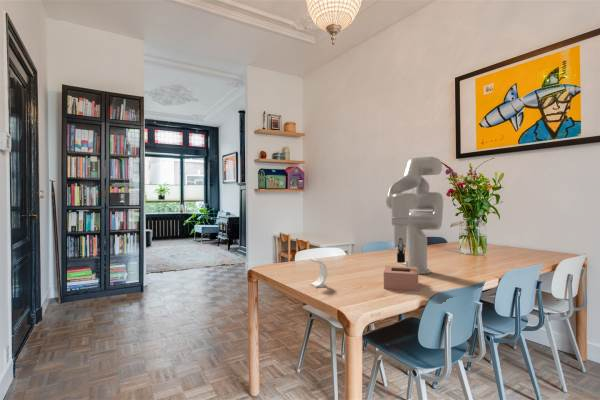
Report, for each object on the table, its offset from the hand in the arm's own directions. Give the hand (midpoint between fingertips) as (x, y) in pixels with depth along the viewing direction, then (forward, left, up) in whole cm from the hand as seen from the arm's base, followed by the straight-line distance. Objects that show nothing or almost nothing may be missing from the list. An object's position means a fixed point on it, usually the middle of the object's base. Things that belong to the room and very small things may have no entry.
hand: (401, 260), depth 145 cm
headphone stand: (-22, -30, -11) cm, 39 cm away
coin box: (0, -1, -11) cm, 11 cm away
